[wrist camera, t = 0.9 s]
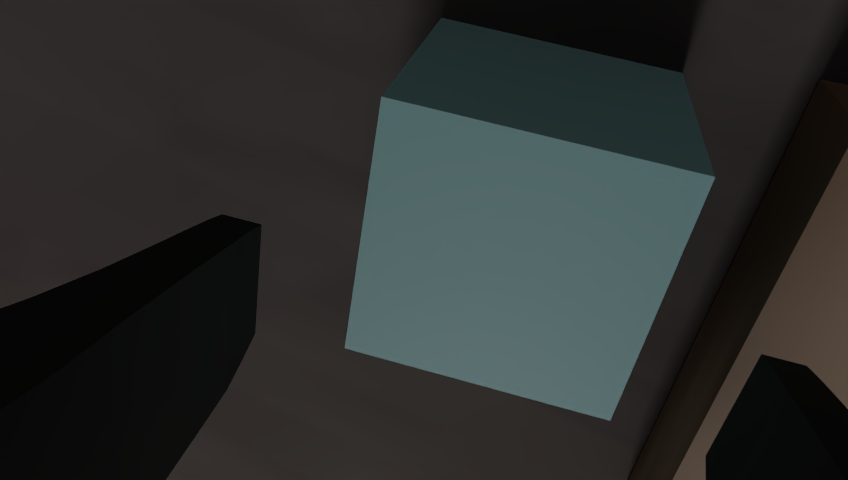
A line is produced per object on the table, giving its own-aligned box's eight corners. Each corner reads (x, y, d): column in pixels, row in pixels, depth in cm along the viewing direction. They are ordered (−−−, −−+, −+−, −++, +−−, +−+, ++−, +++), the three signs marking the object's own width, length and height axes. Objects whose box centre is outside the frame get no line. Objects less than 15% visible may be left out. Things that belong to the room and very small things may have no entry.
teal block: (682, 71, 15) (715, 176, 11) (607, 272, 17) (610, 420, 13) (441, 16, 15) (381, 96, 11) (405, 220, 18) (344, 348, 14)
